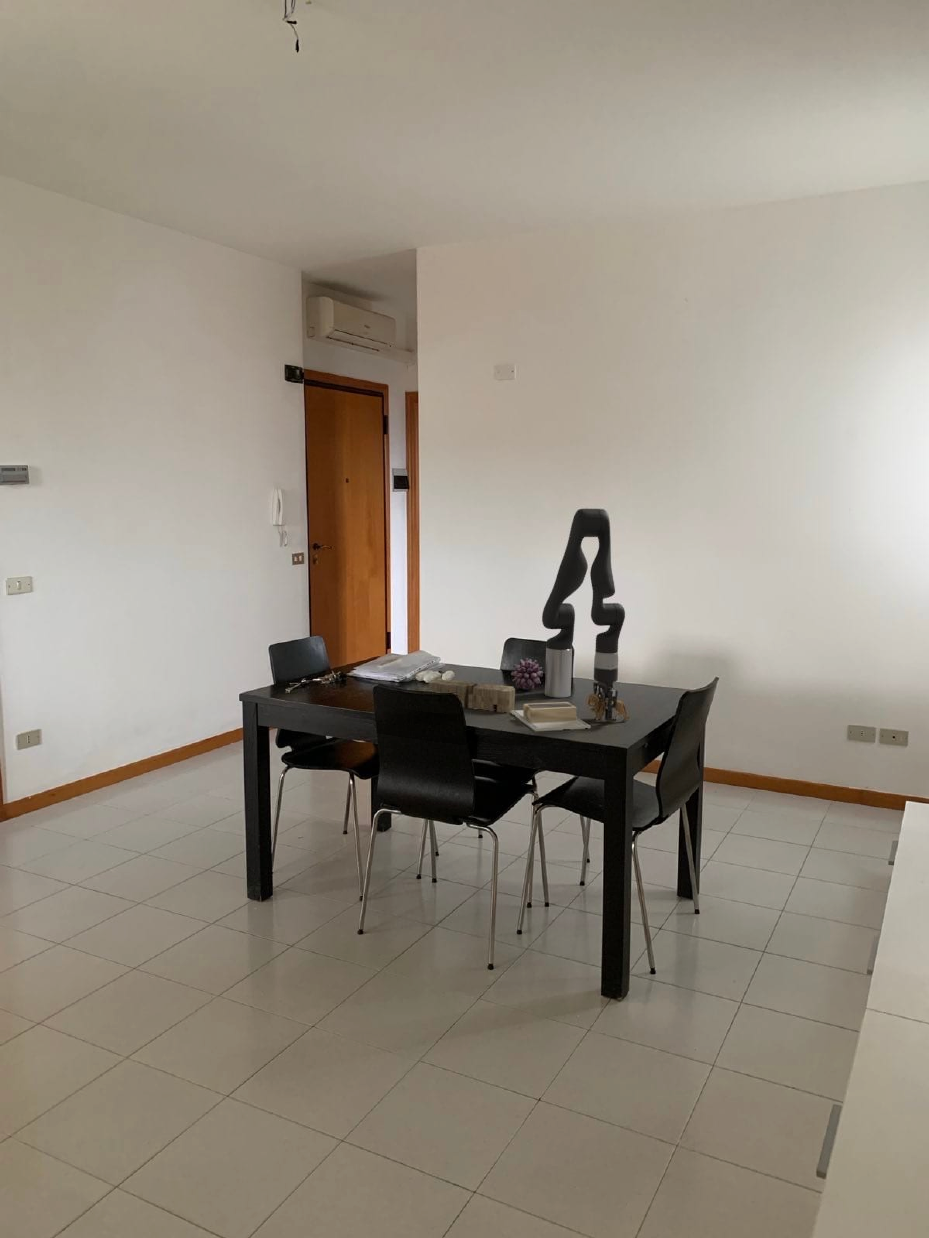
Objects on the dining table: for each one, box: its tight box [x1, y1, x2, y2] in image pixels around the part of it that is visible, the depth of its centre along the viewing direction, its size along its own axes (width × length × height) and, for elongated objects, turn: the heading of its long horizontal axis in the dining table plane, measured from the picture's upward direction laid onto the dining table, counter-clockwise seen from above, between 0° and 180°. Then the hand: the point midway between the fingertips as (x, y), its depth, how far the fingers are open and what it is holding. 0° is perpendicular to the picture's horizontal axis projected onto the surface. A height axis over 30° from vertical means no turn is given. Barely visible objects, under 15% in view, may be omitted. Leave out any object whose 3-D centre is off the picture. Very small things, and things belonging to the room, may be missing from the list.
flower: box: [511, 657, 544, 691], centre depth 335 cm, size 12×12×12 cm
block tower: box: [428, 677, 516, 713], centre depth 308 cm, size 8×8×29 cm
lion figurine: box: [586, 693, 631, 723], centre depth 290 cm, size 15×5×9 cm, turn 102°
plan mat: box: [510, 709, 591, 732], centre depth 290 cm, size 24×18×1 cm
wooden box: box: [522, 701, 578, 722], centre depth 289 cm, size 8×15×4 cm, turn 105°
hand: (604, 717), depth 290 cm, fingers open, 5 cm apart
